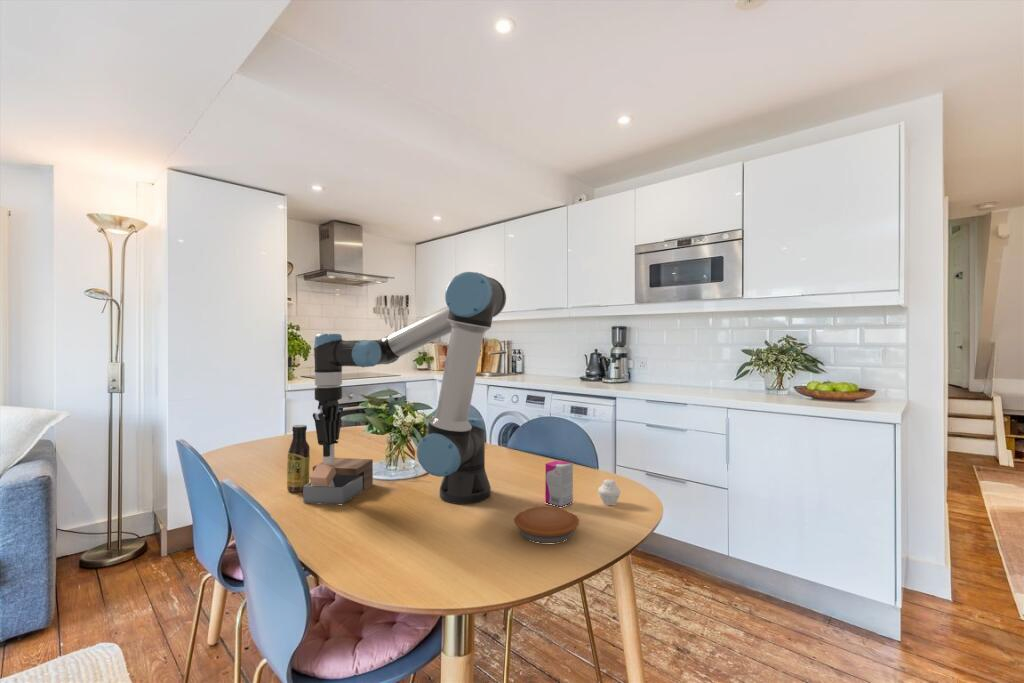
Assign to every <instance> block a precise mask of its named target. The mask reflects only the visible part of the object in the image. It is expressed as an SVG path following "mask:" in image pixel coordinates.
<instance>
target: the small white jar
mask: <svg viewBox="0 0 1024 683" xmlns="http://www.w3.org/2000/svg"><path fill="white" fill-rule="evenodd" d="M597 491H598V494H599V495H598V496H599V498H600V499H601V501H602V503H603V504H604V505H605V504H607V505H606V506H608V505H612V506H615V505H616V503H617V502H618V500H619V498H620V495H621V489H620V488H619V487H618V485H617V484H616V481H615V480H613V479H610V478H608V479H604V480H603V481H602V484H601V485H600V486H599V487H598V490H597ZM614 504H615V505H614Z"/></svg>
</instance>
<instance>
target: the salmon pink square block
mask: <svg viewBox="0 0 1024 683" xmlns="http://www.w3.org/2000/svg"><path fill="white" fill-rule="evenodd" d="M316 465H317V466H316ZM316 465H315V466H316V468H315V469H314V471H313V470H312V472H311V473H310V474H309V482H311V483H312V485H323V486H329V484H330V482H331V481H332V479H333V478H334V476H335V474H336V470H335V467H334V465H320V463H318V464H316Z"/></svg>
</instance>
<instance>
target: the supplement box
mask: <svg viewBox="0 0 1024 683" xmlns="http://www.w3.org/2000/svg"><path fill="white" fill-rule="evenodd" d="M573 468H574V463H572V462H568V461H563V460H558V459H557V460H554V461H550V462H547V463H545V482H544V483H545V489H544V490H545V491H544V492H545V493H544V494H545V496H544V497H545V498H544V499H545V501H544V502H546V503H548V504H552V505H555V506H558V507H563V506H565V505H568V504H570V503H572V502H573V501H574V497H573V496H574V489H573V488H574V486H573V485H574V478H573V477H574V469H573ZM573 503H574V502H573ZM573 503H572V504H573ZM548 504H547V505H548ZM570 505H571V504H570ZM568 506H569V505H568ZM558 507H557V508H558Z"/></svg>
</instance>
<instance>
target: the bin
mask: <svg viewBox="0 0 1024 683" xmlns="http://www.w3.org/2000/svg"><path fill="white" fill-rule="evenodd" d="M332 480H333V482H334V485H335V487H325V486H311V484H312V483H311V481H309V483H308V484H306V485H304V486H303V491H302V492H303V493H302V496H303V499H302V500H303V501H302V502H307V503H306V504H313V503H321V504H320V505H331V504H342V505H341V506H344V505H345V504H346V502H347V501H348V502H349V501H351V500H352V499H353V497H354V496H355V497H357V496H358V495H359V494H361V493H362V492H363V491H364V490H363V476H359V475H335V476H334V478H333V479H332ZM361 491H362V492H361ZM360 492H361V493H360ZM358 493H359V494H358ZM357 494H358V495H357ZM356 495H357V496H356ZM355 497H354V498H355ZM351 498H352V499H351ZM350 499H351V500H350ZM348 502H347V503H348ZM344 503H345V504H344ZM343 504H344V505H343Z"/></svg>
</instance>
